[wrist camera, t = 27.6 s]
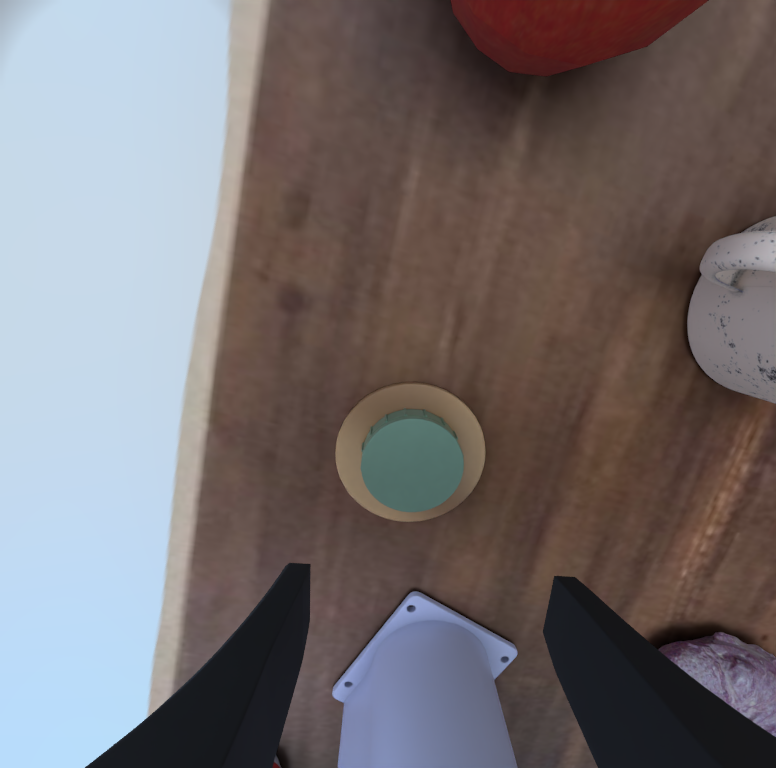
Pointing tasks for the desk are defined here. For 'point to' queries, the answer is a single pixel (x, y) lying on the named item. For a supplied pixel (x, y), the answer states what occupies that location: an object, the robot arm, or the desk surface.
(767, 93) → the desk surface
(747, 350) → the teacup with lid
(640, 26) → the apple
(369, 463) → the lid
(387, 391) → the cork coaster
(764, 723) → the fossil
